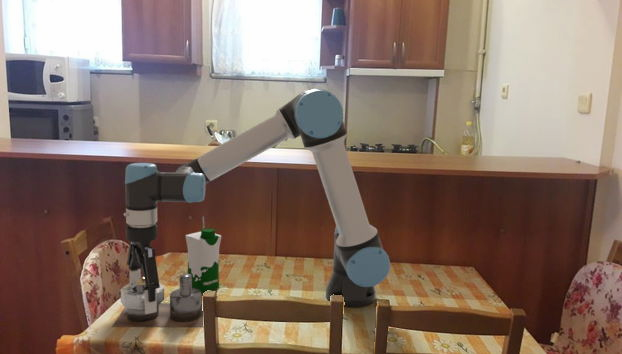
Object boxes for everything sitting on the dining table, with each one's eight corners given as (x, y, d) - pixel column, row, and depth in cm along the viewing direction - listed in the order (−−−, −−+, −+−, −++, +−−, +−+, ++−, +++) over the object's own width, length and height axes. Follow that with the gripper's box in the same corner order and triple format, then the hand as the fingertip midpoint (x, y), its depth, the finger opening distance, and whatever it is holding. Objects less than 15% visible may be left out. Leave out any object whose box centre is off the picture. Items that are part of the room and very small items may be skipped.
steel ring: (118, 297, 127) (117, 285, 127) (156, 290, 133) (155, 278, 133) (128, 312, 119) (127, 299, 119) (168, 303, 125) (168, 291, 124)
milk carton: (200, 300, 141) (201, 234, 138) (181, 291, 146) (181, 228, 143) (223, 292, 148) (224, 228, 144) (205, 284, 153) (205, 222, 150)
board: (127, 308, 134) (127, 302, 134) (215, 308, 136) (215, 303, 136) (111, 332, 120) (111, 326, 120) (209, 332, 122) (209, 326, 122)
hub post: (131, 308, 130) (130, 271, 129) (161, 308, 131) (161, 271, 129) (122, 322, 123) (121, 283, 121) (155, 322, 123) (154, 283, 122)
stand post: (173, 308, 131) (173, 270, 130) (203, 308, 132) (203, 270, 130) (167, 322, 124) (166, 281, 122) (198, 322, 124) (199, 281, 123)
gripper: (114, 214, 131) (116, 288, 134) (140, 238, 111) (142, 325, 114) (142, 211, 135) (143, 283, 138) (172, 234, 115) (173, 318, 118)
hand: (142, 302), depth 126 cm, fingers open, 13 cm apart
